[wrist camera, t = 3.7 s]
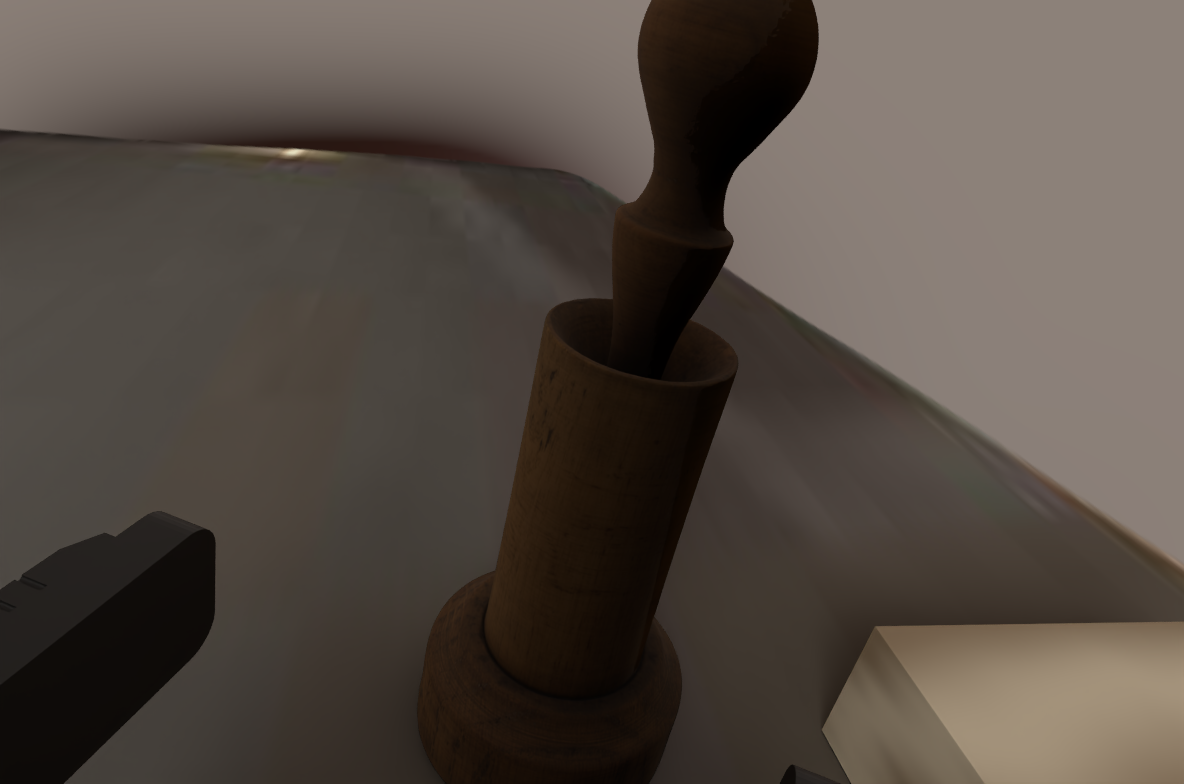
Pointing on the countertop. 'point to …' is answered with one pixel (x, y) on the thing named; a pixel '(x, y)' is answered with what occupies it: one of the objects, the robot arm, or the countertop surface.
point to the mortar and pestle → (616, 439)
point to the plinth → (1014, 705)
